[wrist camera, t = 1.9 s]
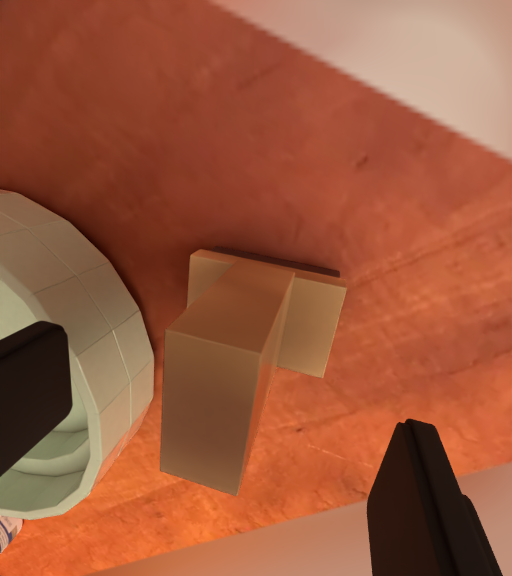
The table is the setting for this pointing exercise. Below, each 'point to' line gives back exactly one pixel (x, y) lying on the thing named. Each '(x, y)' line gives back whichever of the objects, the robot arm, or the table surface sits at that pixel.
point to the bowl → (71, 355)
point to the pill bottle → (8, 530)
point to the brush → (238, 356)
